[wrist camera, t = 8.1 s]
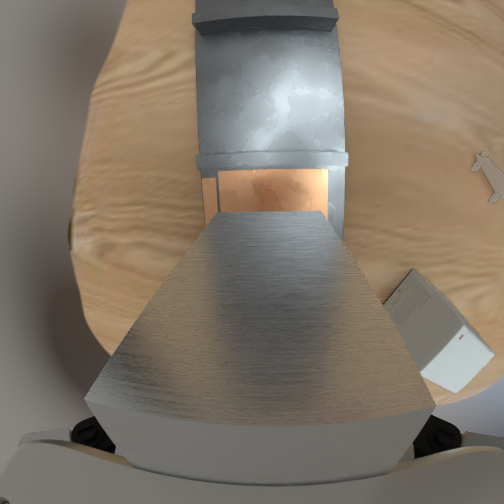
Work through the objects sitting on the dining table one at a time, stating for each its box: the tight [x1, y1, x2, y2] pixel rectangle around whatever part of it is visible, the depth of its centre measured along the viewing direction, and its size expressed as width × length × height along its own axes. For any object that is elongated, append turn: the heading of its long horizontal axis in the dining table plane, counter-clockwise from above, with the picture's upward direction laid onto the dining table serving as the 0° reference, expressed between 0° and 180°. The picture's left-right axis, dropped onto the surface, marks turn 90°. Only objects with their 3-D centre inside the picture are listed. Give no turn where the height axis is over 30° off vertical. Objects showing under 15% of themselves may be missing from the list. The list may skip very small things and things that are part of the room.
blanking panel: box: [84, 211, 436, 485], centre depth 8 cm, size 4×9×9 cm, turn 2°
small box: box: [383, 269, 494, 394], centre depth 22 cm, size 8×6×10 cm
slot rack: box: [192, 0, 348, 240], centre depth 19 cm, size 12×37×4 cm, turn 2°
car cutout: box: [470, 151, 504, 203], centre depth 19 cm, size 15×7×4 cm, turn 51°
